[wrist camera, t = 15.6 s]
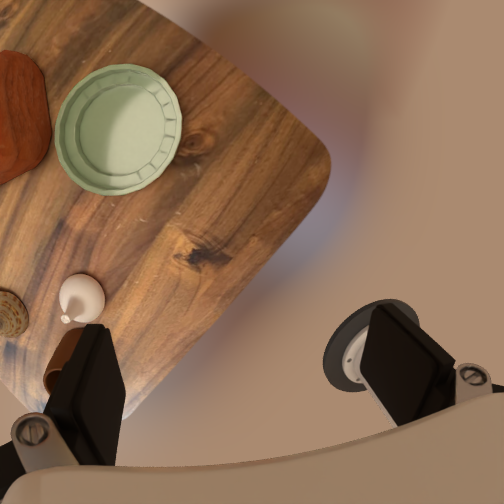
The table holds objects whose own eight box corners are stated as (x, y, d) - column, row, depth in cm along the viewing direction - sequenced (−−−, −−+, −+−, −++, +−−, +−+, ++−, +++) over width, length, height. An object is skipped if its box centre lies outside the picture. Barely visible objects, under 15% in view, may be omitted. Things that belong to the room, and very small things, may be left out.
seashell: (-27, 283, 31) (1, 309, 30) (0, 274, 37) (29, 297, 36) (-23, 329, 33) (5, 357, 32) (1, 317, 39) (29, 342, 38)
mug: (99, 392, 43) (88, 435, 34) (56, 374, 41) (39, 415, 32) (115, 338, 40) (101, 382, 31) (66, 318, 38) (43, 358, 29)
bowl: (167, 56, 30) (164, 46, 26) (196, 168, 35) (197, 171, 32) (56, 98, 29) (43, 94, 25) (86, 206, 34) (75, 213, 30)
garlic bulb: (72, 315, 38) (53, 348, 31) (58, 274, 36) (34, 301, 28) (112, 311, 39) (98, 345, 31) (100, 267, 37) (81, 296, 29)
